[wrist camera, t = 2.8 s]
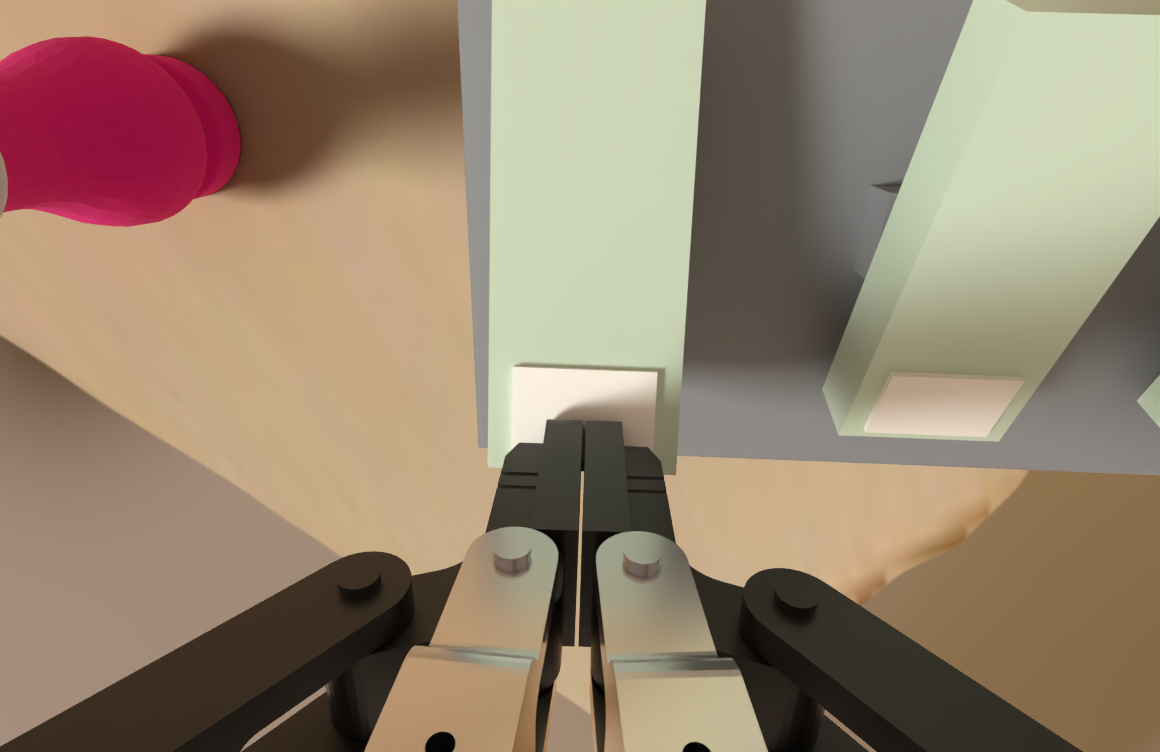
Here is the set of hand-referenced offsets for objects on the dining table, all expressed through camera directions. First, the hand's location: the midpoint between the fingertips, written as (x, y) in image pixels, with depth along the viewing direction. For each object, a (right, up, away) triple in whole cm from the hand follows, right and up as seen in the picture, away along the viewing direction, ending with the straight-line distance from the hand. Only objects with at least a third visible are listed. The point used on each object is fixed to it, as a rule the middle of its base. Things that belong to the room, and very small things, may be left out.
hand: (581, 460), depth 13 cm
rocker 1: (0, +4, 0) cm, 4 cm away
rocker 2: (+8, +4, 0) cm, 9 cm away
